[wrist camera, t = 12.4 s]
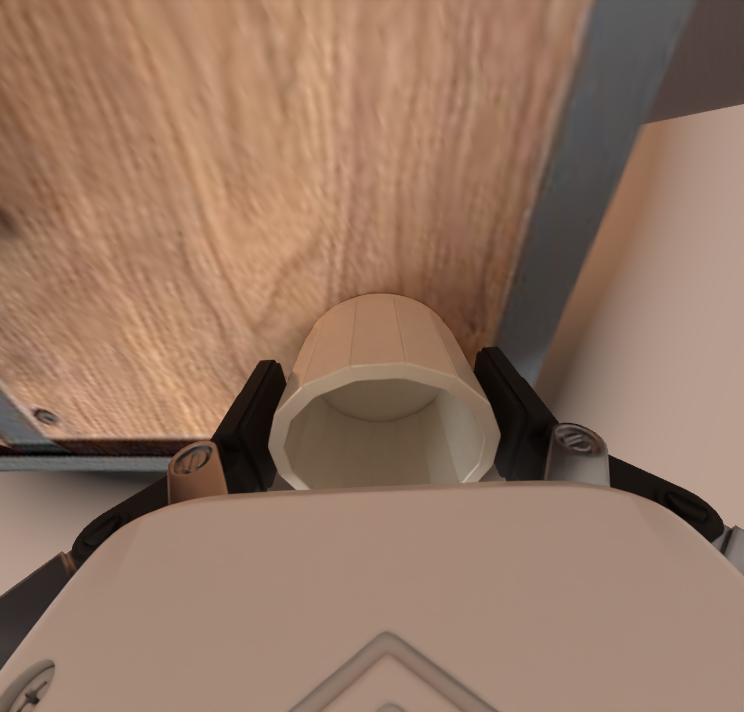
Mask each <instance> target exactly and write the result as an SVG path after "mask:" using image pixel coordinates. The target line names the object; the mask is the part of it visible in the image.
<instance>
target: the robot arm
mask: <svg viewBox="0 0 744 712" xmlns="http://www.w3.org/2000/svg"><path fill="white" fill-rule="evenodd" d="M474 374H475V376H476V378H477V380H478V382H479V384H480V385H481V387H482V389H483V391H484V393H485V395H486V397H487V399H488V400H489V402H490V404H491V407H492V410H493V413H494V416H495V418H496V421H497V424H498V427H499V430H500V433H501V435H500V436H501V437H500V441H499V445H498V448H497V452H496V455H495V459H494V464H495V466H496V468H497V470H498V473H499V475H500V476H501V477H505V479H506V481H497V482H470V483H445V484H420V485H397V486H374V487H352V488H331V489H311V490H293V491H273V492H266V491H267V488H270V487H271V486H272V484H273V481H274V478H275V475H276V472H277V468H276V466H275V463H274V461H273V458H272V456H271V454H270V451H269V449H268V442H269V437H270V432H271V427H272V422H273V417H274V414H275V411H276V409H277V406H278V404H279V402H280V399H281V397H282V394H283V392H284V389H285V387H286V385H287V384H286V380H285V377H284V374H283V370H282V367H281V364H280V363H276V361H275V360H262V361H260V362H259V363H258V365H257V366H256V368H255V369H254V371H253V373H252V374H251V376H250V378H249V379H248V381H247V383H246V384H245V386H244V387H243V389H242V391H241V392H240V394H239V395H238V396H237V398H236V399H235V401H234V403H233V404H232V406H231V407H230V409H229V411H228V412H227V414H226V416H225V417H224V419H223V420H222V422H221V424H220V425H219V427H218V429H217V430H216V432H215V433H214V435H213V437H212V438H211V440H210V441H200V442H196V443H193V444H191V445H189V446H187V447H185V448H183V449H182V450H181V451H179V452H178V453H177V454H176V455H175V456H174V457H173V458H172V460H171V461H170V463H169V465H168V469H167V476H165V477H164V478H162V479H160V480H159V481H157V482H155V483H154V484H152V485H150V486H149V487H147V488H146V489H144V490H142V491H141V492H139V493H137V494H135V495H134V496H132V497H130V498H128V499H127V500H125V501H123V502H122V503H120V504H118V505H117V506H115V507H113V508H112V509H110V510H108V511H107V512H105V513H103V514H102V515H100V516H99V517H97V518H96V519H95V520H93V521H92V522H91V523H90V524H89V525H88V526H86V527H85V528H84V529H83V531H82V532H81V533H80V534H79V536H78V537H77V539H76V540H75V542H74V544H73V546H72V550H71V551H69V552H68V553H67V554H65V553H64V552H60V553H59V554H58V555H56V556H55V557H54V558H52V559H51V560H49V561H48V562H47V563H45V564H44V565H42V566H41V567H40V568H39V569H37V570H36V571H34V572H33V573H32V574H30V575H29V576H28V577H26V578H25V579H23V580H22V581H21V582H19V583H18V584H16V585H15V586H14V587H12V588H11V589H10V590H8V591H7V592H6V593H4V594H3V595H1V596H0V712H744V530H743V529H741V528H739V527H738V526H736V525H735V526H734V527H733V528H729V527H728V526H726V525H724V524H723V521H722V519H721V518H720V516H719V515H718V513H717V512H716V511H715V510H714V509H713V508H712V507H711V506H710V505H709V504H708V503H706V502H705V501H704V500H702V499H701V498H700V497H698V496H697V495H695V494H693V493H691V492H689V491H688V490H686V489H683V488H681V487H679V486H677V485H675V484H673V483H670V482H668V481H666V480H664V479H662V478H659V477H657V476H655V475H653V474H651V473H648V472H646V471H644V470H642V469H639V468H637V467H635V466H633V465H631V464H628V463H626V462H624V461H622V460H620V459H617V458H615V457H613V456H611V455H609V454H608V449H607V446H606V443H605V442H604V441H603V439H602V438H601V437H600V436H599V435H597V434H596V433H595V432H593V431H592V430H590V429H588V428H586V427H583V426H581V425H578V424H573V423H560V424H559V422H558V421H557V420H556V418H555V417H554V416H553V415H552V413H551V412H550V411H549V410H548V408H547V407H546V406H545V404H544V403H543V402H542V401H541V399H540V398H539V397H538V395H537V394H536V393H535V391H534V390H533V389H532V388H531V386H530V385H529V384H528V382H527V381H526V380H525V379H524V378H523V377H521V376H520V374H519V373H518V372H517V371H516V369H515V368H514V367H513V365H512V364H511V363H510V362H509V360H508V359H507V358H506V356H505V355H504V354H503V352H502V351H501V350H500V349H499V347H483V348H482V350H481V351H478V352H477V355H476V361H475V367H474Z"/></svg>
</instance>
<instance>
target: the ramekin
mask: <svg viewBox="0 0 744 712" xmlns="http://www.w3.org/2000/svg"><path fill="white" fill-rule="evenodd" d="M500 435H501V433H500V430H499V427H498V424H497V421H496V418H495V416H494V413H493V410H492V407H491V404H490V402H489V400H488V399H487V397H486V395H485V393H484V391H483V389H482V387H481V385H480V384H479V382H478V380H477V378H476V376H475V374H474V372H473V371H472V369H471V367H470V365H469V363H468V361H467V359H466V357H465V356H464V354H463V352H462V350H461V348H460V346H459V344H458V343H457V341H456V339H455V337H454V335H453V333H452V331H451V330H450V329H449V328H448V327H447V325H446V324H445V323H444V321H443V320H442V319H441V318H440V317H439V316H438V315H437V314H436V313H435V312H434V311H433V310H431V309H430V308H429V307H427V306H425V305H424V304H422V303H420V302H418V301H416V300H413V299H411V298H408V297H404V296H400V295H395V294H387V293H375V294H367V295H361V296H358V297H354V298H351V299H348V300H346V301H343V302H341V303H339V304H338V305H336V306H334V307H332V308H331V309H330V310H329V311H327V312H326V313H325V314H324V315H323V316H322V317H321V318H320V319H319V320H318V321H317V322H316V323H315V325H314V326H313V328H312V329H311V331H310V333H309V335H308V336H307V337H306V339H305V341H304V343H303V346H302V348H301V350H300V353H299V355H298V358H297V360H296V363H295V365H294V367H293V370H292V372H291V375H290V377H289V380H288V382H287V385H286V387H285V389H284V392H283V394H282V397H281V399H280V402H279V404H278V406H277V409H276V411H275V414H274V417H273V422H272V427H271V432H270V437H269V442H268V449H269V451H270V454H271V456H272V458H273V461H274V463H275V466H276V468H277V471H278V473H279V474H280V476H281V477H283V478H284V479H285V480H286V481H287V482H288V483H289V484H291V485H292V486H293V487H294V488H295V489H296V490H311V489H331V488H352V487H374V486H397V485H420V484H445V483H470V482H478V481H479V480H480V478H481V477H482V476H483V475H484V474H485V473H486V472H487V471H488V470H489V469H490V468H491V466H492V464H493V463H494V459H495V455H496V452H497V448H498V445H499V441H500V437H501V436H500Z"/></svg>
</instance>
